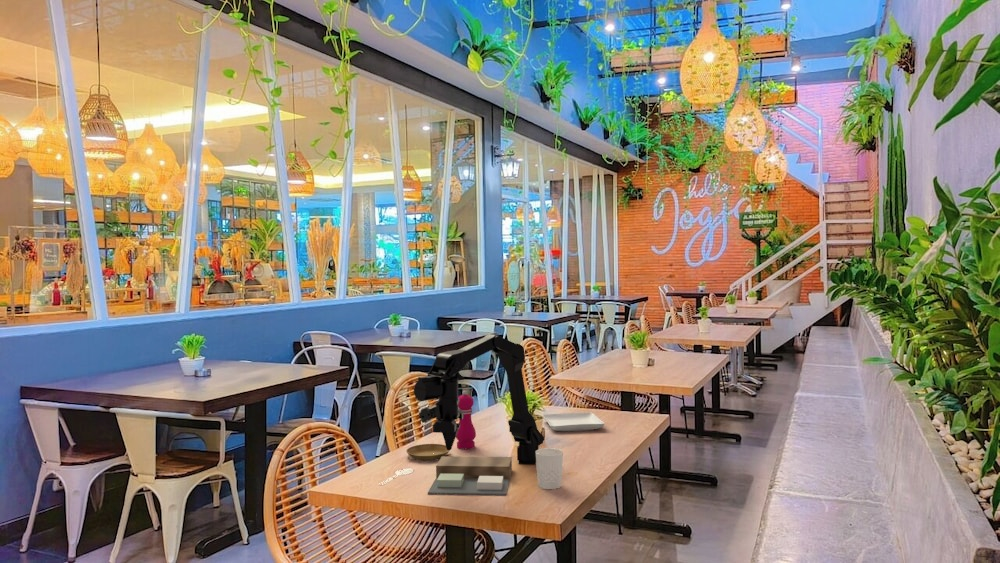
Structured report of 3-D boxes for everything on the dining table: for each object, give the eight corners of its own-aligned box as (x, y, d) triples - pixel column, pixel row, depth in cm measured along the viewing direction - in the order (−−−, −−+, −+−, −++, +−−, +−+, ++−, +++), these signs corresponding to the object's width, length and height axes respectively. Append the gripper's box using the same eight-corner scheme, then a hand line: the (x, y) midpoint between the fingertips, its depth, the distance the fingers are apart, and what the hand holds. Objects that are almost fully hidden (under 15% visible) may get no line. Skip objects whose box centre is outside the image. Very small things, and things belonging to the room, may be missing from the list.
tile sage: (461, 480, 196) (461, 487, 196) (463, 473, 202) (464, 480, 202) (436, 479, 196) (437, 486, 196) (440, 473, 202) (440, 480, 202)
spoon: (370, 485, 201) (370, 483, 201) (403, 468, 218) (403, 466, 218) (386, 487, 199) (385, 486, 199) (418, 470, 215) (418, 468, 215)
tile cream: (501, 482, 193) (501, 489, 193) (503, 476, 199) (503, 482, 199) (477, 482, 194) (477, 489, 194) (479, 475, 200) (479, 482, 200)
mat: (509, 480, 203) (509, 478, 203) (505, 495, 190) (505, 493, 190) (436, 479, 205) (436, 477, 205) (427, 494, 192) (427, 492, 192)
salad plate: (541, 421, 279) (541, 413, 279) (592, 419, 281) (592, 411, 281) (550, 434, 258) (550, 425, 258) (605, 432, 260) (605, 423, 260)
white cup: (555, 492, 192) (555, 456, 192) (531, 487, 196) (530, 453, 196) (568, 484, 199) (567, 450, 198) (544, 480, 203) (543, 446, 202)
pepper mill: (452, 448, 239) (451, 391, 238) (460, 443, 245) (459, 388, 245) (470, 450, 236) (469, 392, 236) (479, 445, 243) (478, 389, 242)
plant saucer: (434, 465, 220) (434, 457, 220) (397, 459, 227) (397, 452, 227) (458, 454, 233) (458, 446, 233) (423, 449, 240) (423, 441, 240)
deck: (511, 469, 213) (511, 457, 213) (509, 479, 203) (509, 466, 203) (442, 469, 215) (441, 456, 215) (436, 479, 205) (436, 465, 205)
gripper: (427, 390, 209) (427, 441, 209) (414, 402, 190) (415, 458, 191) (463, 390, 208) (463, 441, 208) (453, 403, 190) (454, 459, 190)
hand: (449, 449), depth 199 cm, fingers closed
